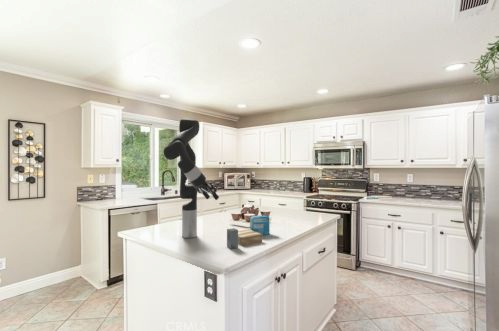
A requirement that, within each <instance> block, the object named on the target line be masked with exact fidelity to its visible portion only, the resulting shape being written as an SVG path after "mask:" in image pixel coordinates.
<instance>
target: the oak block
mask: <svg viewBox="0 0 499 331" xmlns="http://www.w3.org/2000/svg"><path fill="white" fill-rule="evenodd" d="M262 242H263V235H262V234H260V233H257V232H254V231H252V230H250V229H244V230H238V246H239V245H240V246H242V247H243V246H248V245H253V244H258V243H262Z"/></svg>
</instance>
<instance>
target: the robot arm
mask: <svg viewBox="0 0 499 331" xmlns="http://www.w3.org/2000/svg"><path fill="white" fill-rule="evenodd" d="M178 131H179V133H177V134H176V136H174V138H173V139H172V140H171V142H169V143H168V144H167V145H166V146H165V147H164V148H163V156H164V157H165V158H166V159H167V160H170V161H173V160H176V159H177V158H179V161H178V163H177V167H178V169H179V170H180V182H179V197H180V199H182V200H190V201H189V202H187V203H185V204H183V205H182V206H181V214H182V215H181V222H182V223H181V226H182V227H181V237H182V238H184V239H192V238H196V237H197V236H198V205H197V204H198V194H200V195H203V197H204V198H205V199H206V200H209V199H210V198H211V197H210V196H212V197H213V199H215V200H214V201H217V200H219V198H220V196H219V195H218V194H217V191H218V190H217V188H216V187H215V186H214V185H213V184H212V183H211V182H209V183H208V182H207V177H206V176H205V174H204V173H203V172H202V171H201V170H200V168H199V167H198V166H197V165H196V161H197V160H196V157H197V156H196V153H195V151H193V148H192V147H191V145H190V143H189V142H190V141H192V139H194V138H195V137H196V136H197V135H198V134H199V132H200V122H199V121H198V120H197V119H192V118H181V119H180V120H179V126H178ZM187 180H188V181H189V183H191V184H186V183H187ZM209 194H210V195H209Z"/></svg>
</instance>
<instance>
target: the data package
mask: <svg viewBox="0 0 499 331" xmlns="http://www.w3.org/2000/svg"><path fill="white" fill-rule="evenodd" d="M249 223H250V224H249V225H250V227H249V228H250V229H249V230H252V231H254V232H257V233H260V234H262V236H266V235H267V236H268V235H269V234H270V216H267V215H252V216H250V219H249Z"/></svg>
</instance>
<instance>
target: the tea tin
mask: <svg viewBox="0 0 499 331" xmlns="http://www.w3.org/2000/svg"><path fill="white" fill-rule="evenodd" d="M238 231H239V229H237V228H235V227H234V228H233V227H232V228H227V229H226V248H228V249H230V250H235V249H238V248H239V244H238Z"/></svg>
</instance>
